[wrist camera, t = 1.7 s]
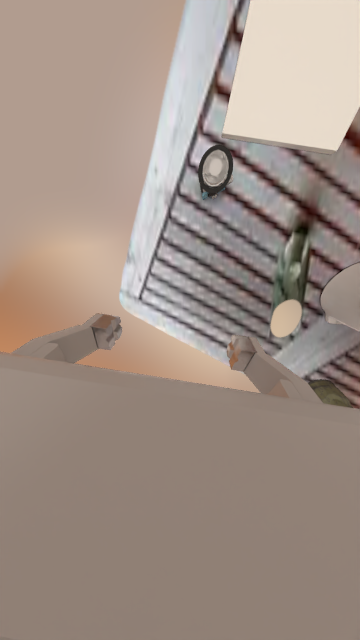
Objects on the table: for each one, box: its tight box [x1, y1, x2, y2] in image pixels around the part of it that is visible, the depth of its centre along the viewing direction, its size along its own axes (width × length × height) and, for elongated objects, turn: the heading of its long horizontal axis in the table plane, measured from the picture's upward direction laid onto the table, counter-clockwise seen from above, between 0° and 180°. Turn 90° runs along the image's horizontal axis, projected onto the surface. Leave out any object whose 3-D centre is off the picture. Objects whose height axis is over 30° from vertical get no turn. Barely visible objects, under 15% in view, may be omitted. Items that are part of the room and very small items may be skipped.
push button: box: [198, 145, 233, 200], centre depth 24 cm, size 7×5×10 cm
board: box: [222, 0, 360, 155], centre depth 21 cm, size 20×14×1 cm
